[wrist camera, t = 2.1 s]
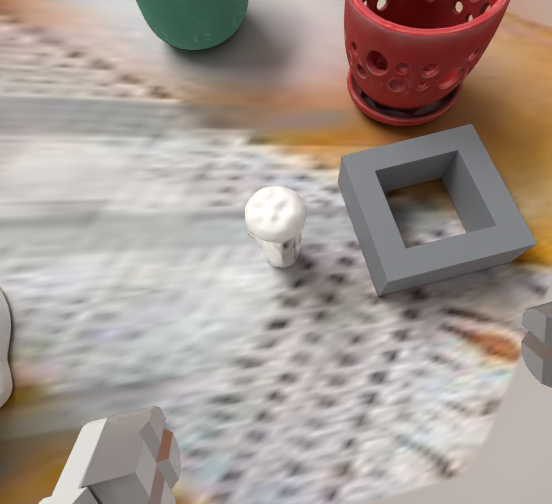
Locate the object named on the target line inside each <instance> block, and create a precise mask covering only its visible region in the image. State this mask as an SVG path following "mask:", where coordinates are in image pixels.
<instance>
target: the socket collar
mask: <svg viewBox="0 0 552 504" xmlns="http://www.w3.org/2000/svg"><path fill="white" fill-rule="evenodd" d="M439 178H441V179H442V181H443V183H444V186H445V188H446V190H447V192H448V194H449V196H450V198H451V200H452V202H453V204H454V207H455V209H456V211H457V213H458V215H459V217H460V219H461V221H462V223H463V225H464V228H465V230H466V232H467V233H465V234H461V235H457V236H453V237H449V238H445V239H442V240H438V241H434V242H430V243H426V244H422V245H418V246H414V247H410V248H406V247H405V245H404V242H403V240H402V237H401V235H400V233H399V230H398V228H397V225H396V223H395V220H394V218H393V215H392V213H391V210H390V208H389V205H388V203H387V200H386V198H385V195H384V193H383V192H387V191H391V190H395V189H399V188H403V187H407V186H411V185H415V184H419V183H423V182H427V181H431V180H435V179H439ZM338 185H339V188H340V190H341V193H342V196H343V199H344V202H345V204H346V207H347V210H348V213H349V216H350V219H351V221H352V224H353V227H354V230H355V233H356V236H357V238H358V241H359V244H360V247H361V250H362V253H363V255H364V258H365V261H366V264H367V267H368V269H369V272H370V275H371V278H372V281H373V284H374V286H375V289H376V292H377V295H378V296H382V295H386V294H390V293H394V292H398V291H402V290H406V289H410V288H413V287H417V286H421V285H425V284H429V283H433V282H437V281H441V280H445V279H448V278H452V277H456V276H460V275H464V274H468V273H472V272H476V271H480V270H484V269H487V268H491V267H495V266H499V265H503V264H507V263H509V262H511V261H512V260H514V259H515V258H517V257H518V256H520V255H521V254H523V253H524V252H526V251H527V250H529V249H530V248H532V247H533V246H535V245H536V244H537V242H536V240H535V238H534V237H533V235H532V233H531V231H530V229H529V227H528V226H527V224H526V222H525V220H524V218H523V216H522V215H521V213H520V211H519V209H518V207H517V205H516V204H515V202H514V200H513V198H512V196H511V194H510V193H509V191H508V189H507V187H506V185H505V183H504V182H503V180H502V178H501V176H500V174H499V172H498V171H497V169H496V167H495V165H494V163H493V162H492V160H491V158H490V156H489V154H488V152H487V151H486V149H485V147H484V145H483V143H482V141H481V140H480V138H479V136H478V134H477V132H476V130H475V129H474V127H473V125H472V124H469V125H465V126H461V127H457V128H453V129H449V130H445V131H441V132H437V133H433V134H429V135H424V136H420V137H416V138H412V139H408V140H404V141H400V142H396V143H392V144H388V145H384V146H380V147H376V148H372V149H368V150H364V151H360V152H356V153H352V154H348V155H344V156H342V158H341V165H340V172H339V179H338Z"/></svg>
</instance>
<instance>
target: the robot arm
mask: <svg viewBox="0 0 552 504" xmlns="http://www.w3.org/2000/svg"><path fill="white" fill-rule="evenodd" d="M522 325H523V326H524V327H525V328H526V329H527V330H528V333H527V334H526V336H525V337H524V338H523V340H522V341H521V348H522V356H523V359H524V361H525V364H526V366H527V367H528V369H529V370H530V372H531V373H532V374H533V376H534V377H535V378H536V379H538V381H540V382H541V384H544V385H546V386H549V387H552V302H550V303H546V304H542V305H538V306H535V307H531V308H527V309H526V310H525V312H524V313H523V316H522ZM10 333H11V318H10V312H9V307H8V304H7V302H6V299H5V297H4V295H3V294H2V292H1V291H0V407H1V406H2V405H3V404H4V403H5V402H6V401H7V400H8V398H9V397H10V395H11V392H12V385H13V384H12V377H11V372H10V368H9V365H8V361H7V355H8V347H9V341H10ZM165 420H166V418H165V416H164V414H163V412H162V410H161V408H160V407H157V406H153V407H149V408H144V409H140V410H136V411H132V412H128V413H123V414H119V415H115V416H111V417H109V418H104V419H100V420H96V421H92V422H88V423H87V424H86V425H85V426H84V427H83V428H82V429H81V432H80V434H79V436H78V438H77V440H76V443H75V445H74V447H73V449H72V451H71V454H70V456H69V458H68V460H67V463H66V465H65V467H64V469H63V471H62V474H61V476H60V478H59V480H58V482H57V485H56V487H55V489H54V491H53V493H52V496H51V497H47V498H43V499H42V500H41V501H40V502H39V503H38V504H175V503H176V500H175V498H174V496H173V494H172V492H171V489H172V488H173V487H174V485H175V484H176V482H177V481H178V480H179V473H180V453H179V448H178V444H177V441H176V439H175V436H174V434H173V433H172V432H170V431H168V430H167V429H165V428H164V425H165Z"/></svg>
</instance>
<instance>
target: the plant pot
mask: <svg viewBox="0 0 552 504" xmlns="http://www.w3.org/2000/svg"><path fill="white" fill-rule="evenodd" d="M365 1H366V2H367V5H365V4H364V2H365ZM458 1H460V2H461V3H462V5H463V9H462V11H461V12H460V13H459V12H457V11H456V8H455V6H456V3H457V2H458ZM377 2H378V0H345V10H344V36H345V46H346V53H347V58H348V62H349V65H350V68H349V72H348V77H347V84H348V90H349V93H350V96H351V98H352V100H353V101H354V103H355V104H356V106H357V107H358V108H359V109H360V110H361V111H362V112H363V113H365V114H366V115H368V116H369V117H371V118H372V119H374V120H377V121H379V122H382V123H385V124H389V125H395V126H413V125H419V124H424V123H427V122H430V121H432V120H435V119H436V118H438V117H440V116H441V115H443V114H444V113H445V112H446V111H448V110H449V109H450V108H451V107H452V106H453V104H454V103H455V102H456V100H457V99H458V97H459V94H460V92H461V88H462V81H463V80H464V79H465V78H466V76H467V75H468V74H469V73H470V72H471V70H472V69H473V68H474V66H475V65H476V64H477V62H478V61H479V59H480V58H481V56H482V55H483V53H484V51H485V50H486V48H487V46H488V45H489V43H490V41H491V39H492V38H493V36H494V34H495V32H496V30H497V28H498V26H499V24H500V22H501V20H502V18H503V16H504V13H505V11H506V9H507V6H508V4H509V2H510V0H386V3H385V5H384V6H383V7H382V8H380V9H377ZM489 5H490V9H489V10H487V11H486V12H485V10H486V9H487V7H488V6H489ZM470 15H472V17H473V20H471V21H469V22H468V19H469V16H470Z"/></svg>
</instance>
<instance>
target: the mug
mask: <svg viewBox="0 0 552 504" xmlns="http://www.w3.org/2000/svg"><path fill="white" fill-rule="evenodd" d="M136 1H137V4H138V6H139V8H140V10H141V12H142V14H143V16H144V18H145V20H146V22H147V24H148V25H149V27H150V28H151V29H152V31H153V32H154V33H155V34H156V35H157V36H158V37H159V38H160V39H162V40H163V41H165V42H166V43H168V44H170V45H172V46H174V47H177V48H181V49H187V50H201V49H206V48H210V47H213V46H216V45H218V44H220V43H222V42H224V41H225V40H227V39H228V38H229V37H230V36H232V35H233V34H234V33H235V32H236V31H237V29H238V28H239V27H240V25H241V23H242V22H243V20H244V17H245V15H246V11H247V6H248V0H136Z"/></svg>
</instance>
